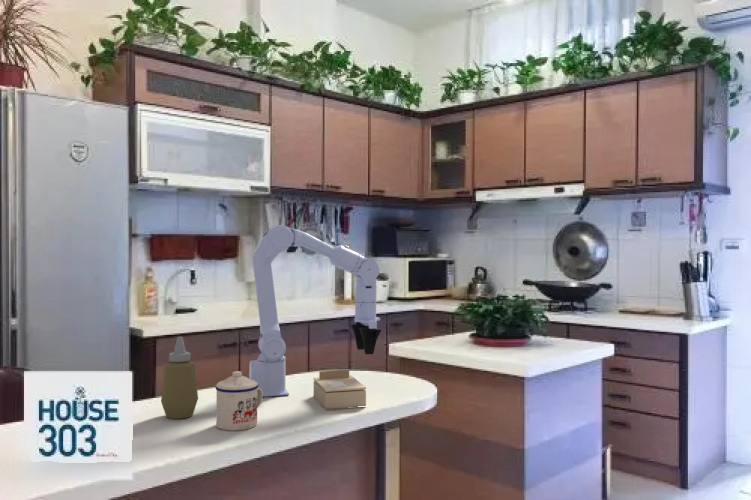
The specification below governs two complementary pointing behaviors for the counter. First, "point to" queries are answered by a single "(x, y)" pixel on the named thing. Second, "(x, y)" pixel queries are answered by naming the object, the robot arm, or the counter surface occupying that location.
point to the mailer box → (339, 398)
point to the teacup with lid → (237, 402)
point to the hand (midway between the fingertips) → (365, 351)
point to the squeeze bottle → (179, 384)
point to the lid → (337, 381)
